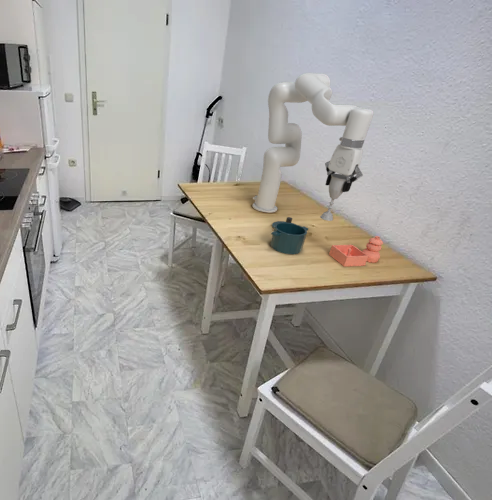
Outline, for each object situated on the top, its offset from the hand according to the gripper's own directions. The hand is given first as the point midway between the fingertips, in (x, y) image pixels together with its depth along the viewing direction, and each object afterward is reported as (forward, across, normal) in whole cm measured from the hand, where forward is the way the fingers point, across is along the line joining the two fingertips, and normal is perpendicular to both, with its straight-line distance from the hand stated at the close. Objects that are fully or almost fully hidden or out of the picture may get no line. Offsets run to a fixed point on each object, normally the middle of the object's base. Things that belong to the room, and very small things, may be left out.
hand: (336, 187), depth 144 cm
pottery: (+24, +17, +2) cm, 30 cm away
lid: (+24, -15, -4) cm, 29 cm away
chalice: (+14, 0, 0) cm, 14 cm away
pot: (+25, -1, -18) cm, 30 cm away
